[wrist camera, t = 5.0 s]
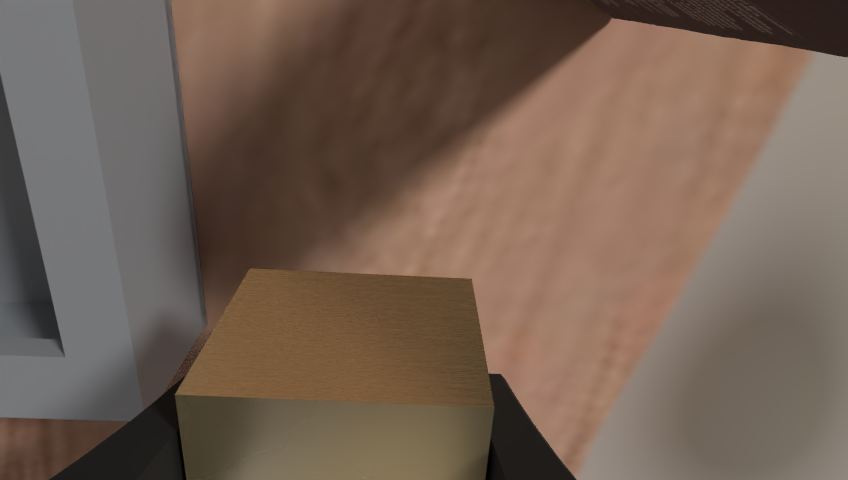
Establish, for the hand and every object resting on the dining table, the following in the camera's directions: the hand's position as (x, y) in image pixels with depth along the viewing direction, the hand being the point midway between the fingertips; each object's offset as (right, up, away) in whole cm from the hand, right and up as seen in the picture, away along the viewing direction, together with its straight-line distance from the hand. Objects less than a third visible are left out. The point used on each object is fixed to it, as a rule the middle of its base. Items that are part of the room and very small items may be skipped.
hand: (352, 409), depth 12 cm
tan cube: (0, +1, +1) cm, 1 cm away
